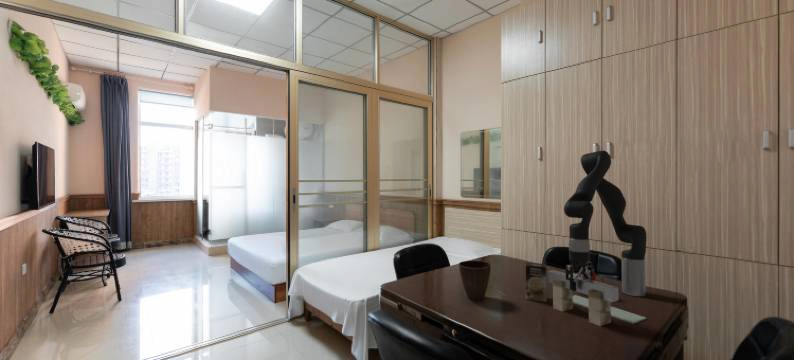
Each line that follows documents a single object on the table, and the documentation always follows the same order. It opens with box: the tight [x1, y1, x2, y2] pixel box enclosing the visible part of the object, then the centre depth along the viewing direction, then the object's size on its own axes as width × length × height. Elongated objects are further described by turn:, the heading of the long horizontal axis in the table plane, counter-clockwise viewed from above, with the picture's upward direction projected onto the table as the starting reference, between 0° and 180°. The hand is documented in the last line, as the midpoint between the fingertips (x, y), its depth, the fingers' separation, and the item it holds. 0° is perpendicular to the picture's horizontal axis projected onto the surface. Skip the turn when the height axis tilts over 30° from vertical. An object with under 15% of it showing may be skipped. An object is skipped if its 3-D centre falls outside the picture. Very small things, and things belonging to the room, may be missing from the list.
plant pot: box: [458, 260, 492, 301], centre depth 158 cm, size 15×15×16 cm
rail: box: [546, 269, 619, 303], centre depth 136 cm, size 4×28×5 cm, turn 27°
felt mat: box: [573, 294, 647, 324], centre depth 143 cm, size 9×30×1 cm, turn 27°
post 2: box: [587, 290, 612, 327], centre depth 129 cm, size 7×4×12 cm, turn 117°
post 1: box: [552, 279, 574, 313], centre depth 143 cm, size 7×4×12 cm, turn 117°
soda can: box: [579, 269, 597, 297], centre depth 160 cm, size 7×7×12 cm
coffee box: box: [525, 262, 548, 303], centre depth 156 cm, size 9×6×16 cm
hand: (579, 288), depth 136 cm, fingers open, 8 cm apart
